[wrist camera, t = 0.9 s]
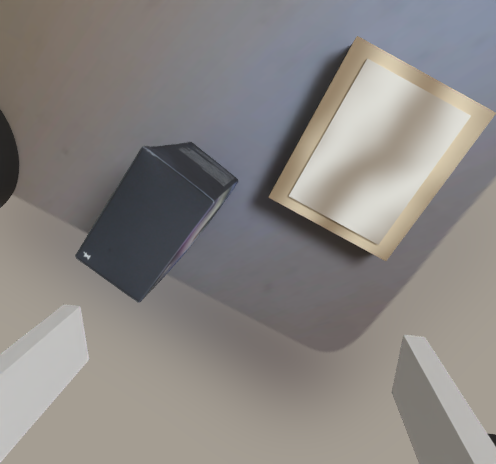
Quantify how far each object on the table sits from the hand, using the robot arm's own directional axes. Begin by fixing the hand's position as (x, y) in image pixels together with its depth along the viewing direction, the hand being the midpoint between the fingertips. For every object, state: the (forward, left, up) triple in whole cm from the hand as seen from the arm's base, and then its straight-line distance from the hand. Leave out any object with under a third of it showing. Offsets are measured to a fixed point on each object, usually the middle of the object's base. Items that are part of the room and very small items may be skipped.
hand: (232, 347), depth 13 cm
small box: (-8, -3, -20) cm, 22 cm away
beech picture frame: (+5, +9, -20) cm, 22 cm away
